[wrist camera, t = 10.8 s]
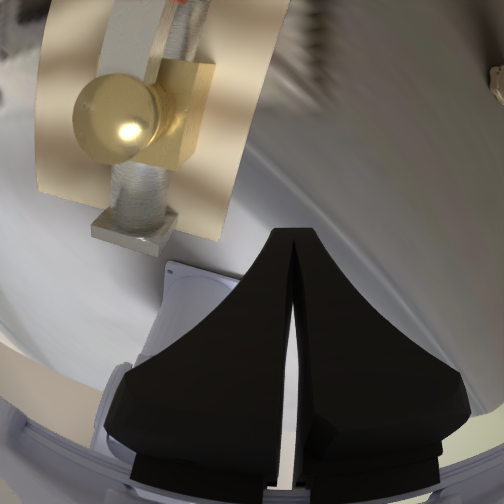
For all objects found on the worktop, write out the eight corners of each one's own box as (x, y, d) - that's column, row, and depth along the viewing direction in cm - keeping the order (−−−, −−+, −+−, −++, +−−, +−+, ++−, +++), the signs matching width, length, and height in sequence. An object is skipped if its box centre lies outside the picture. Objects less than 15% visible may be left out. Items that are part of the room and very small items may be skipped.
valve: (183, 224, 21) (163, 259, 18) (115, 205, 21) (87, 235, 17) (243, -17, 11) (231, -42, 7) (153, -23, 10) (121, -40, 7)
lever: (160, 158, 14) (142, 173, 12) (93, 143, 13) (70, 156, 12) (244, -93, 5) (238, -113, 3) (163, -93, 4) (146, -108, 3)
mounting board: (220, 237, 22) (218, 242, 22) (42, 188, 21) (38, 191, 20) (307, -45, 9) (308, -48, 9) (71, -43, 8) (67, -44, 7)
